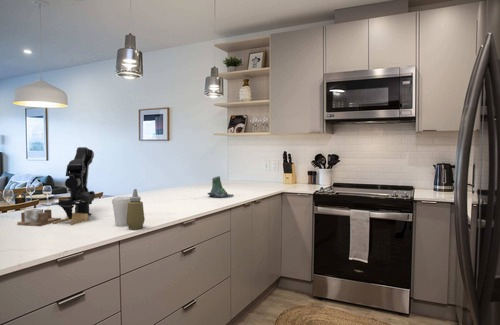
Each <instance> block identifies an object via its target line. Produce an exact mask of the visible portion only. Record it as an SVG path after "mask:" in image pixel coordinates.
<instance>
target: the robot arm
mask: <svg viewBox="0 0 500 325" xmlns="http://www.w3.org/2000/svg"><path fill="white" fill-rule="evenodd" d="M94 157H95V153H94V151H93V150H92V149H90V148H88V147H86V146H84V147H83V146H79V147H76V152H75V156H74V158H73V159H71V160H70V161H69V162H68V164H67V166H66V169H65V170H66V171H65V177H68V178H67V179H66V180H65V181H64V185H65V187H66V189H67V188H68V189H67V190H68V192H69V194H70V195H69V196H68V199H67V198H64V199H60V200H58V201H57V203H58V204H57V206H58V207H60V208H62V210H63V211H64V212H65V214H66V217H67V216H68V217H69V219H72V213H73V209H74V213H87V214H88V216H91V215H92V213H90V205H92V204H93V201H94V200H95V197H96V196H95V195H96V193H95V191H93V190H92V191H91V190H90V191H89V189H88V178H89V168H90V165H91V164H92V163H93V159H94Z"/></svg>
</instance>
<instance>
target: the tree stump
mask: <svg viewBox="0 0 500 325" xmlns="http://www.w3.org/2000/svg"><path fill="white" fill-rule="evenodd" d="M211 184H212V185H211V190H210V192H207V193H206V194H207V195H209V197H212V198H215V199H225V198H226V199H228V198H229V199H230V198H233V197H234V194H233V193H231V194H230V193H229V192H227V191H226V189H225V188H223V186H222V185H223V184H222V182H221V176H214V177H213V178H212V183H211Z"/></svg>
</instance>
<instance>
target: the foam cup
mask: <svg viewBox="0 0 500 325" xmlns="http://www.w3.org/2000/svg"><path fill="white" fill-rule="evenodd" d="M130 197H131V196H115V197H112V198H111V204H112V208H113V209H112V210H113V215H114V216H113V217H114V222H115V226H116V227H125V226H126V227H128V224H127V222H126V219H127V208H128V203H129V202H131V201H130Z"/></svg>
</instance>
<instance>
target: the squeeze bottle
mask: <svg viewBox="0 0 500 325" xmlns="http://www.w3.org/2000/svg"><path fill="white" fill-rule="evenodd" d="M129 197H130V201H131V202H129V203H128V208H127V219H126V222H127V224H128V225H127V227H128V229H129V230H139V229H142V228H143V227H144V223H145V213H144V212H145V211H144V210H145V209H144V204H143V203H144V202H143V201H142V200H141V196H139V193H138V190H137V188H134V189H133V192H132V196H129Z"/></svg>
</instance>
